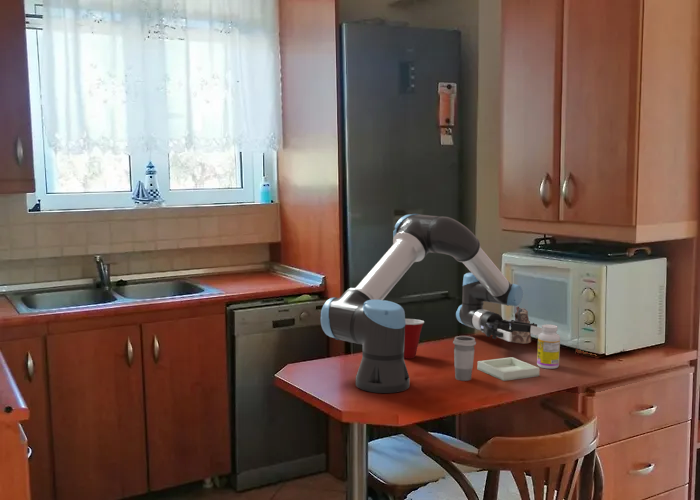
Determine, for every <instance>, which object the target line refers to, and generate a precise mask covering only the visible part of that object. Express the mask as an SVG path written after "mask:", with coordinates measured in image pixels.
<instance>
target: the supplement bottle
mask: <svg viewBox="0 0 700 500" xmlns="http://www.w3.org/2000/svg"><path fill="white" fill-rule="evenodd" d="M541 328H542V333H540V334H539V335H538V336H537V351H536V352H537V354H536V358H537V359H536V365H537V367H539V368H542V369H548V370H549V369H550V370H552V369H553V370H554V369H557V368H559V366H560V352H561V351H560V347H561V336H560V335H559V334H558V333H557V331H558V326H557V325H555V324H548V323H547V324H542V325H541Z"/></svg>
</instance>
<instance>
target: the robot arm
mask: <svg viewBox="0 0 700 500" xmlns="http://www.w3.org/2000/svg"><path fill="white" fill-rule="evenodd" d="M392 236H393V237H392V238H393V239H392V245H391V247H390V248H388V250H387V251H386V252H385V253H384V254H383V256H382V257H381V258H380V259H379V260H378V261H377V263H375V265H374V266H373V267H372V268H371V269H370V271H368V273H367V274H365V276H364V277H363V278H362V279H361V281H360V282H359V283H358V284H357V285H356V286H355V287H350V288H347V290H345V291H344V293H342V295H341V296H340V297H334V296H333V297H330V298H329V299H327V300H326V301H325V302H324V304H323V305H322V308H321V311H320V326H321V329H322V331H323V332H324V334H325V335H326V336H328V337H329V338H333V339H335V340H337V341H344V342H348V343H354V344H357V345H362V353H361V354H362V357H361V360H360V363H359V367H358V369H357V372H356V375H355V386H356V388H358V389H360V390H362V391H365V392H368V393H378V394H393V393H401V392H404V391H407V390H408V389H409V388H410V382H411V381H410V380H411V379H410V375H409V372H408V369H407V365H406V361H405V358H404V340H405V324H406V322H405V319H406V314H405V313H406V312H405V309H404V307H403V306H402V305H401V304H398V303H396V302H393V301H390V300H385V298H386V297H387V296H388V294H390V292H391V291H392V289H393V288H394V287H395V285H396V284H398V282H399V281H400V280H401V279H402V278H403V276H404V275H405V273H407V271H408V270H409V269H410V268H411V267H412V265H413V264H414V263H417V262H418V263H419V262H422V261H423V260H424V258H425V257H427V255H428V254H429V253H431V254H432V253H433V254H443V255H448V256H450V257H453V258H454V260H455V261H457V262H459V263H462V264H463V265H464V266H465V267H466V268H467V270H469V272H466V273H465V274H463V280H462V303H461V304H460V305H459V306H458V308H457V310H456V312H455V318H456V320H457V321H458V322H459V323H461V324H462V325H464V326H466V327H467V328H468V327H469V328H472V329H474V330H475V329H476V330H477V331H481V333H483V334H484V335H485V336H486V337H487V338H490V337H492V339H493V340H496V339H497V338H498V339H501V340H504V341H506V342H510V343H511V342H512V341H511V337H512V333H511V332H513V331H521V332H530V334H531V335H534V336H537V337H538V335H539V334H540V333H542V327H539V326H538V324H537V323H535V322H530V323H525V322H519V321H515V319H511V320H506V319H504V318H503V317H502V315H501V314H499V313H497V312H494V311H491V310H488V309H484V303H485V302H487V303H491V304H498V305H504V306H508V307H509V306H512V307H518V306H519V305H520V304H521V303H522V300H523V297H524V290H523V288H522V286H521V285H520V284H516V283H511V282H510V281H509V280H508V279H507V278H506V276H505V275H504V274H503V272H501V270H500V268H498V267H497V266H496V264H495V263H494V262H493V261H492V259H491V258H490V257H489V256H488V254H487V253H486V251H484V250H483V249H482V247H481V242H480V240H479V239H478V237H477V236H476V235H475V234H474V233H473V231H471V230H470V229H469V228H468V227H467V226H465V225H464V224H462V223H461V222H459V221H458V220H456V219H454V218H452V217H449V216H439V215H428V214H419V213H412V214H410V213H409V214H405V215H403V216H401V217H400V218H399V219H398V220H397V222H396V223H395V225H394V230H393V233H392Z"/></svg>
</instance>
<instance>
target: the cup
mask: <svg viewBox="0 0 700 500" xmlns="http://www.w3.org/2000/svg"><path fill="white" fill-rule="evenodd" d="M452 344H453V345H454V348H453V354H454V355H453V358H454V378H455V380H457V381H462V382H465V381H466V382H467V381H471V380H472V374H473V368H474V359H475V346H476V344H477V341H476V338H475V337H473V336H470V335H469V336H468V335H459V336H458V335H456V336H454V339H453V341H452Z"/></svg>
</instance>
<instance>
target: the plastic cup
mask: <svg viewBox="0 0 700 500" xmlns="http://www.w3.org/2000/svg"><path fill="white" fill-rule="evenodd" d="M405 322H406V324H405V340H404V359H414V358H416V356H417V351H418V347H419V342H420V336H421V332H422V328H423V325H424V324H425V321H424V320H421V319H415V318H405Z"/></svg>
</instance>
